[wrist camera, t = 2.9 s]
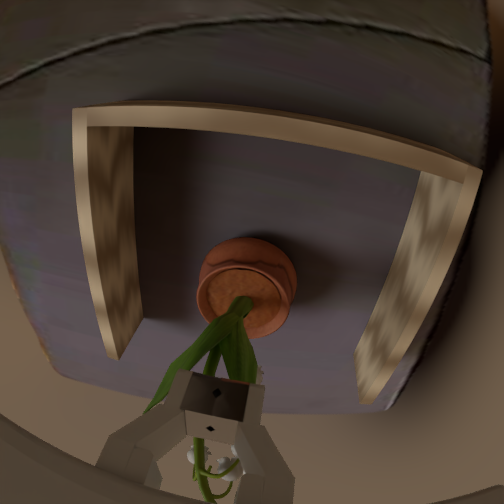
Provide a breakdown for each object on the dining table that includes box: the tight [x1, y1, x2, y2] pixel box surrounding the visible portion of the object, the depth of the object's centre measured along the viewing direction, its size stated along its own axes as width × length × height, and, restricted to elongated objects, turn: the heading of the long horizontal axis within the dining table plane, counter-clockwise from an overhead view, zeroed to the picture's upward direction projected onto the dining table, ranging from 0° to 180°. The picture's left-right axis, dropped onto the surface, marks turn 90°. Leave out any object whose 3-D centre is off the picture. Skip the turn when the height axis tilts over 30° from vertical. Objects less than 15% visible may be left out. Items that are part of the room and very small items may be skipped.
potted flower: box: [143, 237, 297, 504], centre depth 23 cm, size 12×10×25 cm
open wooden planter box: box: [72, 100, 483, 404], centre depth 28 cm, size 27×31×8 cm
